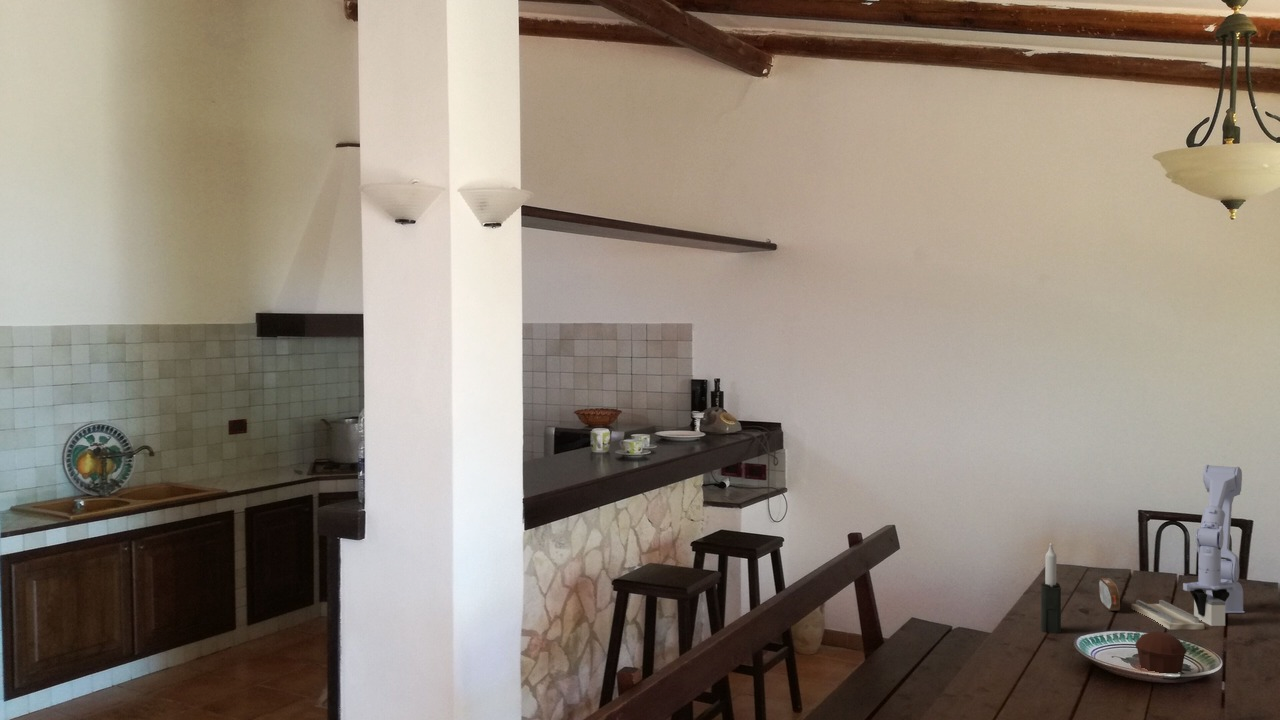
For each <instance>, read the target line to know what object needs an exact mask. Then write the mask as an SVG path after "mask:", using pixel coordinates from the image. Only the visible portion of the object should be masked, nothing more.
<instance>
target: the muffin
mask: <svg viewBox="0 0 1280 720" xmlns="http://www.w3.org/2000/svg"><path fill="white" fill-rule="evenodd" d="M1135 647H1136V649H1137V655H1138V661H1139V666H1140V665H1141V668H1145V669H1147V670H1148V671H1155V672H1159V673H1178V672H1181V673H1182V672H1183V671H1182V670H1183V666H1184V665H1183V664H1184V660H1185V655H1186V653H1187V649H1186V647H1185V646H1184V644H1183V643H1182V642H1181V640H1179V639H1178V638H1177V637H1176V636H1174V635H1173V634H1170V633H1167V632H1165V631H1161V630H1160V631H1156V630H1155V631H1149V632H1146V633H1144V634H1142V635H1141V636H1140V637H1139V638H1138V639H1137V640H1136V642H1135Z"/></svg>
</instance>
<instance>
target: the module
mask: <svg viewBox="0 0 1280 720" xmlns="http://www.w3.org/2000/svg"><path fill="white" fill-rule="evenodd" d="M1193 615H1194V616H1196V617H1198V618H1199V621H1201V620H1202V621H1201V622H1202V623H1204V624H1206V625H1209V626H1210V627H1211V626H1212V627H1217V626H1218V627H1222V626H1223V627H1225V626H1226V613H1225V601H1223V600H1220V599H1218V598H1216V597H1214V596H1211V595H1209V594H1207V598H1206V603H1205V616H1201V615H1199V614H1198V609H1197V606H1196V603H1195V600H1194V599H1193Z"/></svg>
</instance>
